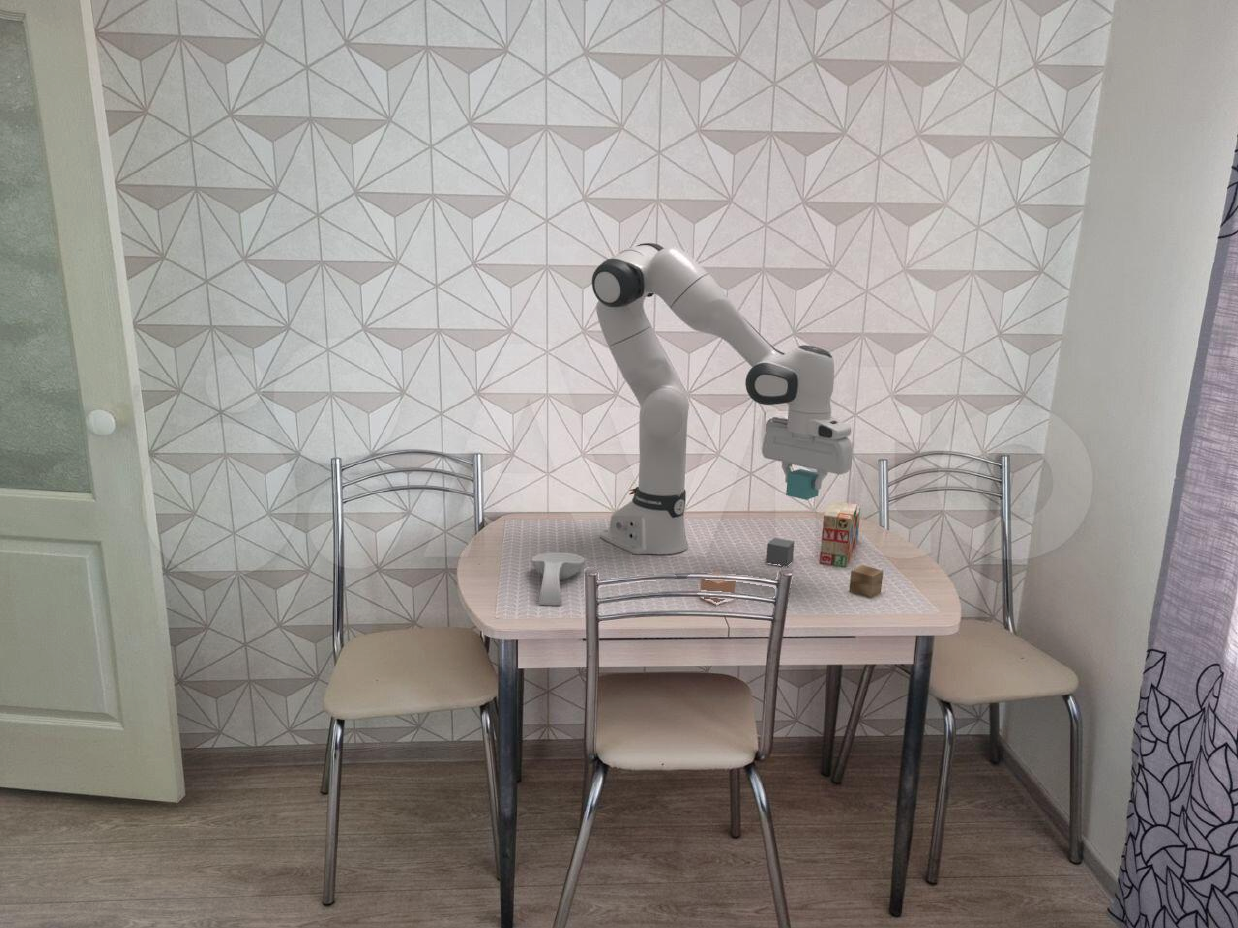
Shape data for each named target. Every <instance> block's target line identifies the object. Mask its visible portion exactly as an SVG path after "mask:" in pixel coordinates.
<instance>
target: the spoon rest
mask: <svg viewBox="0 0 1238 928" xmlns="http://www.w3.org/2000/svg"><path fill="white" fill-rule="evenodd" d="M530 561H531V564H532V566H533V567H534V568H535V571H537V572H538V574H540V575H541V576H542V580H541V585H540V590H539V596H538V605H540V606H552V607H553V606H554V607H559V606H562V605H563V600H562V599H563V598H562V592H561V583H560V582H561V581H565V580H568V579H570V578H572V576H574V575H576V574H578V572H580V570H581V569H582V568H583V566H584V565H585V561H586V560H585V558H584V557H583V556H581V555H580V554H577V553H573V552H572V553H571V552H544V553H540V554H536V555H535V556H533V557H531V558H530Z"/></svg>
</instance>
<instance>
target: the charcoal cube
mask: <svg viewBox="0 0 1238 928" xmlns="http://www.w3.org/2000/svg"><path fill="white" fill-rule="evenodd" d="M794 553H795V541H794V540H789V539H783V538H778V537H773V538H772V539H771V540H770V541H768V542H767V546H766V556H765V557H766V558H765V559H766V561H765V564H766V563H771V564H777V565H778V564H780V565H781V566H780V567H782V566H787V568H788V567H789V566H790V565H791V564H790V563H791V562H792V563H793V562H794V555H795V554H794ZM771 564H770V565H771ZM789 564H790V565H789ZM788 565H789V566H788ZM782 568H783V567H782Z"/></svg>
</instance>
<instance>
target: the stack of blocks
mask: <svg viewBox="0 0 1238 928" xmlns="http://www.w3.org/2000/svg"><path fill="white" fill-rule="evenodd" d="M860 511H861V506H858V503H857V504H856V503H848V502H841V501H839V502H838V501H831V502H830V504H829V507H828V508H827V510H826V511H825V512H824V515H823V523H822V524H823V525H822V531H821V532H822V533H821V534H822V535H821V548H820V556H819V565H825V566H826V565H828V566H834V567H839V568H847V566H848V564H849V562H850V560H851V557H852V554H853V551H854V549H855V547H856V545H857V543H858V536H859V528H860V520H861V519H860V513H861V512H860Z"/></svg>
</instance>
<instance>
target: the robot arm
mask: <svg viewBox="0 0 1238 928" xmlns="http://www.w3.org/2000/svg"><path fill="white" fill-rule="evenodd" d="M591 288H592V291H593V294H594V296H595V297H596V298H597V300H598V301H597V303H596V308H595V311H596V315H597V320H598V322H599V323H598V324H599V325H600V329H601V331H602V335H603V337H604V340H605V342H606V344H607V347H608V348H609V351H610V352H611V354H612V357H613V359H614V361H615V363H616V365H617V367H618V369H619V371H620V373H621V375H622V378H623V379H624V380H625V382H626V383H627V385H628V386H629V388H630V390H631V391H632V393H633V394H634V397H635V399H636V401H637V402H638V404H639V406H640V410H639V426H638V427H639V428H638V429H639V430H638V431H639V433H638V434H639V446H638V447H639V468H638V486H637V487H635V488H633V489H629V495H633V494H634V495H633V496H632V500H631V501H629V502H628V503H626V504H625V505H624V506H622V507H621V508H619V509H617V510H616V511H615V512H613V514H612V516H611V518H610V521H609V522H610V523H609V527H607V528H605V529H604V530H601V532H600V533H599V538H600V539H602V540H604V541H607V542H608V543H610V544H613V545H614V546H617V547H618V548H620V549H623V550H625V551H628V552H629V553H631V554H633V555H671V554H678V553H681V552H684V551H685V550H687V549H688V547H689V545H688V540H687V535H686V528H685V515H684V513H685V509H686V508H685V507H686V502H687V501H686V496H687V495H686V493H687V491H686V490H685V479H686V464H687V463H686V462H687V461H686V459H687V433H688V416H689V409H690V405H689V403H690V402H689V399H688V396H687V394H686V392H685V389H684V388H683V386H682V384H681V382H680V380H679V379H678V377H677V375H676V373H675V371H674V370H673V368H672V366H671V364H670V362H669V361H668V359H667V356H666V355H665V352H664V350H663V347H662V346H661V343H660V341H659V339H658V337H657V335H656V333H655V331H654V329H653V326H652V324H651V323H650V320H649V318H648V316H647V314H646V310H645V307H644V303H645V299H646V298H649V297H650V298H651V297H653V295H654V294H655V295H656V296H658V297H659V298H660V299H661V300H663V302H665V304H666V305H667V307H669V309H670V310H671V311H672V312H673V313H674V315H675V316H676V317H677V318H678V319H679V320H680V321H682V322H683V323H684V324H686V325H687V326H688V327H690V328H691V329H692V330H694V331H697V332H702V333H705V334H710V335H713V336H716V337H718V338H719V339H722V340H724V341H725V343H728V344H729V345H730V346H731V348H733V349H734V350H735V351H736V352H737V353H738V354H739V356H740V357H742V358H743V360H744V361H746V363H748V365H749V366H750V367H751V368H750V369H749V371H748V372H747V374H746V377H745V381H744V384H745V390H746V393H747V395H748V396H749V397H750V398H751V400H752V401H753V402H754V403H755V402H756V403H757V404H759V405H763V406H774V405H782V404H787V405H788V412H787V413H788V415H787V418H780V417H776V416H773V417H771V418H769V419H768V420H767V421H766V423H765V434H764V438H763V443H762V450H761V453H762V455H763V457H764V459H768V460H772V461H777V462H781V469H782V470H783V473H784V475H785V479H784V480H785V483H786V484H787V479H788V473H789V472H792V471H793V470H792V468H791V467H792V466H793V465H794V466H799V467H803V468H808V469H812V470H816V472H817V475H819V476H818V478H817V479H816V480H814V481H812V486H811V488H812V489H815V490H819V491H820V490H821V488H822V483H823V480H824V479H825V478H826V477H827V475H828V473H831V474H836V475H844V474H846V473H848V472H849V471H851V469H852V465H853V463H852V462H853V445H852V441H851V439H850V438H849V437H850V436H851V434H852V427H851V426H850V425H849V424H846V423H845V422H843V421H842V420H839V419H837V418H836V417H835V416H832V406H831V398H832V394H833V392H834V383H835V382H834V381H835V363H834V358H833V355H831V353H830V352H829V351H827V350H825V349H823V348H821V347H816V346H812V345H799V346H797V347H796V348H794V349H792V350H791V351H788V352H787V353H786V352H782V351H780V350H779V349H776V348H775V347H774V346H773V345H772V344H770V343H769V342H768V340H766V339H765V337H763V336H762V334H760V333H759V331H758V330H757V329H755V327H754V326H752V325H751V323H749V321H748V320H747V319H746V318H745V317H744V316H743V315H742V314H741V313H740V311H739V310H738V308H736V306H735V305H734V303H732V301H731V300H730V299H729V297H728V296H727V294H726V293H725V291H724V290H723V289H722V288H721V287H720V285H719V284H718V282H717V281H716V280H715V279H714V278H713V277H712V276H711V275H710V273H709V272H707V270H706V269H705V268H704V267H703V266H702V265H701V264H700V263H699V262H698V261H696V260H695V259H694V258H693V257H692V256H691V255H690V254H689V253H687V252H686V251H684V250H683V249H681V248H680V247H678V246H673V245H672V246H667V247H663V246H662V245H660V244H657V243H652V242H646V243H645V242H644V243H640V244H638V245H636V246H633V247H630V248H626V249H624V250H621V251H620V252H619V253H618V254H616V255H614V256H613V257H611V258H609V259H606V260H604V261H602V263H600V264H599V265H598V266H597V268H595V270H594V271H593V273H592V277H591Z"/></svg>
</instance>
